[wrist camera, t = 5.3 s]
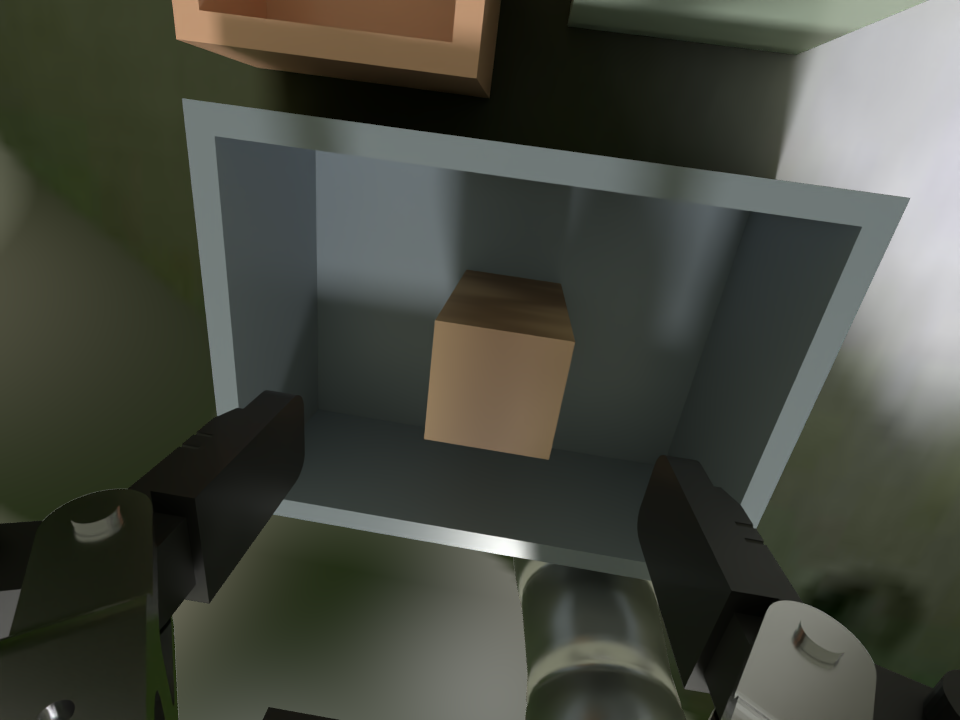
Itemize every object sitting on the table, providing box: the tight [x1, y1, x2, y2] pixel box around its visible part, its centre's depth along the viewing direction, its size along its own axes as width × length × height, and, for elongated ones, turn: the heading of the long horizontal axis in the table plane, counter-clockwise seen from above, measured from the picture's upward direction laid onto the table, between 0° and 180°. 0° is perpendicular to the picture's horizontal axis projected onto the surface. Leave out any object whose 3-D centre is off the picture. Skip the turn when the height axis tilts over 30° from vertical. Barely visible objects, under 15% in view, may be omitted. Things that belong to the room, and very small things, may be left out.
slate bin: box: [182, 98, 910, 581], centre depth 18 cm, size 19×14×7 cm
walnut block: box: [424, 270, 575, 460], centre depth 17 cm, size 4×4×7 cm
